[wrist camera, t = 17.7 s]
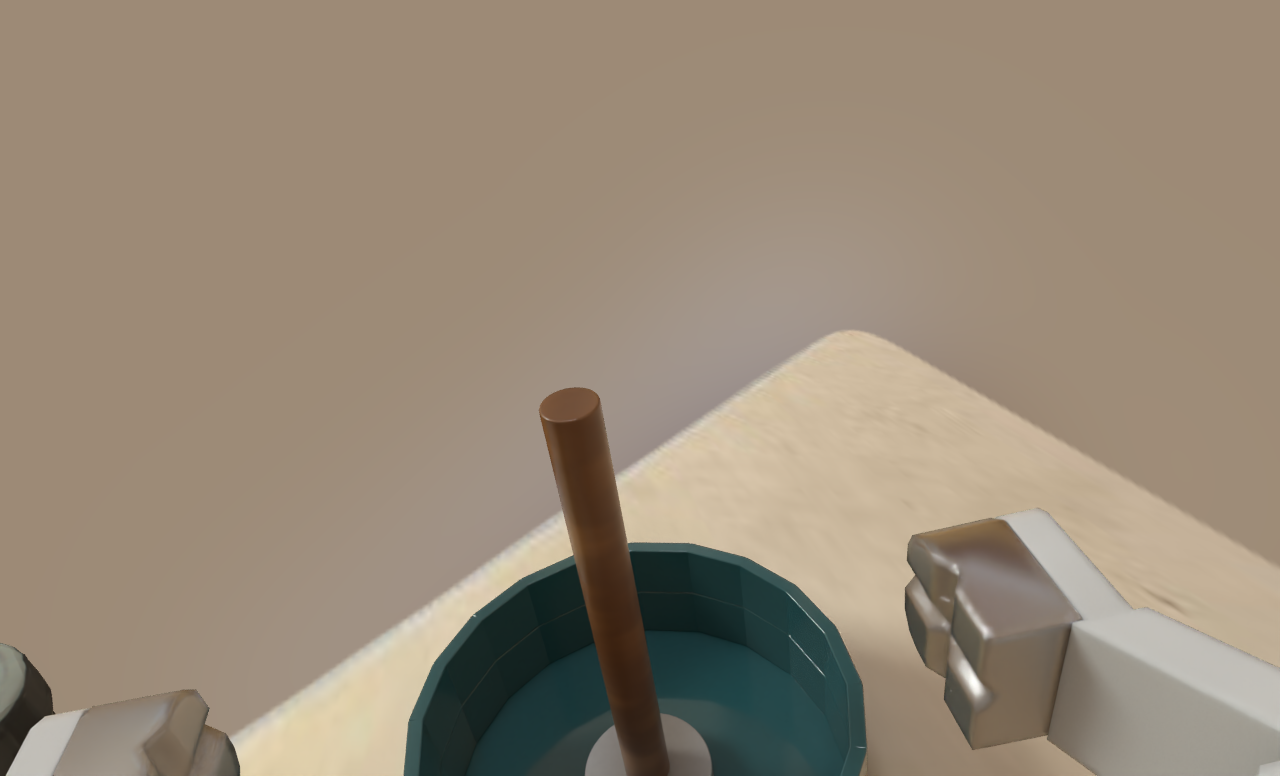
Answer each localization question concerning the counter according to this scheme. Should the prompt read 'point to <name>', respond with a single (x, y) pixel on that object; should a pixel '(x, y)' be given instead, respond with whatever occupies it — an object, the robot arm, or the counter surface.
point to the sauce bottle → (19, 702)
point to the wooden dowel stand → (613, 599)
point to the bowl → (681, 666)
